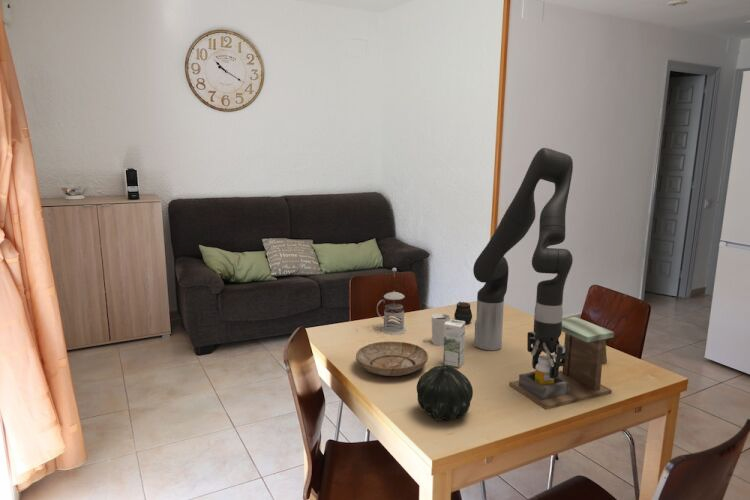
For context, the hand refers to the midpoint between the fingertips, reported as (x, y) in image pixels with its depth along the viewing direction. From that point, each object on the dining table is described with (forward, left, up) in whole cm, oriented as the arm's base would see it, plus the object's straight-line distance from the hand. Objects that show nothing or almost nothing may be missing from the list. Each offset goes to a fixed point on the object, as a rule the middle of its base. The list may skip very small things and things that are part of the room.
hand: (544, 372), depth 151 cm
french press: (-59, +34, -6) cm, 68 cm away
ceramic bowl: (-47, +1, -7) cm, 47 cm away
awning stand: (+5, +5, -6) cm, 9 cm away
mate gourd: (-35, +53, -6) cm, 64 cm away
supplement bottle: (0, 0, -5) cm, 5 cm away
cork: (+15, +31, -6) cm, 35 cm away
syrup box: (-29, +11, -6) cm, 32 cm away
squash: (-24, -22, -6) cm, 33 cm away
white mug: (-38, +28, -6) cm, 48 cm away
